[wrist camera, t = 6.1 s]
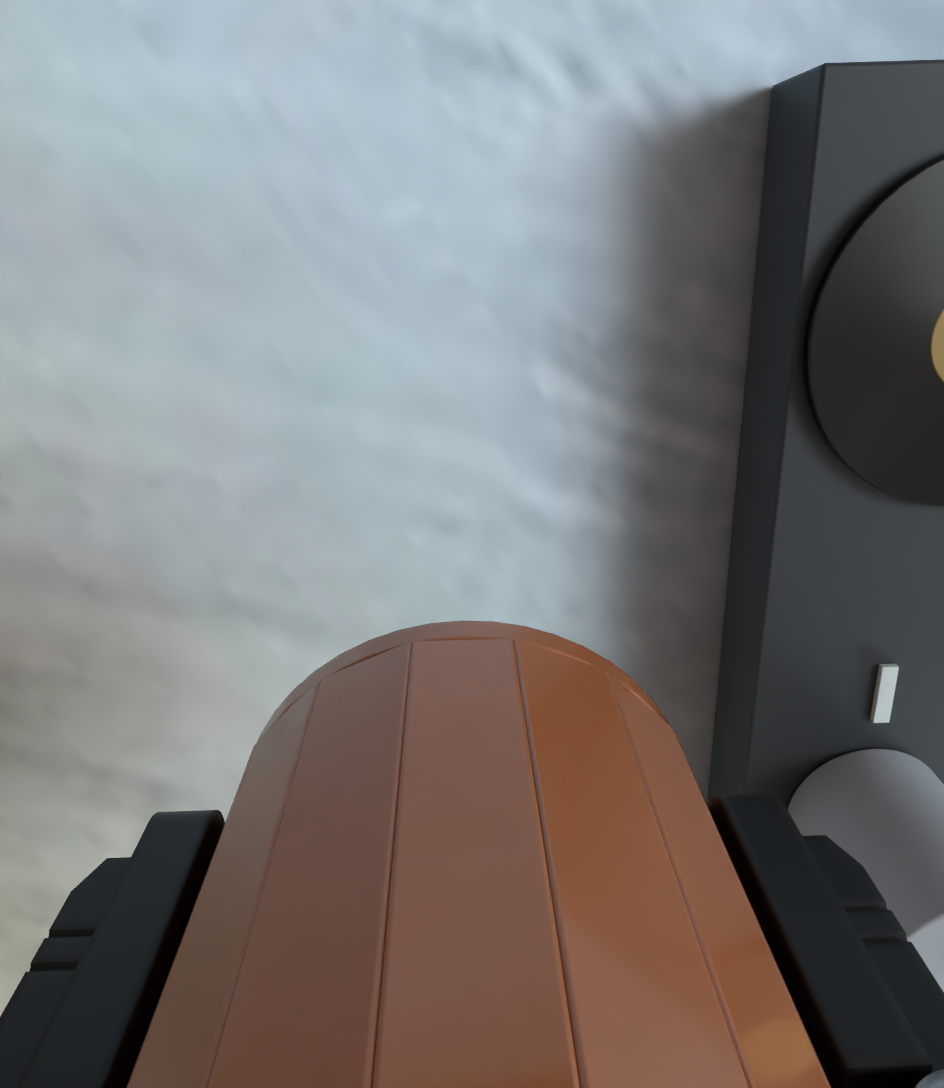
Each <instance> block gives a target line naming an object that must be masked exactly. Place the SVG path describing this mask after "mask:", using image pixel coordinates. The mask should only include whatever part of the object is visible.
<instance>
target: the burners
mask: <svg viewBox="0 0 944 1088" xmlns="http://www.w3.org/2000/svg"><path fill="white" fill-rule="evenodd" d="M803 369H804V381H805V388H806V393H807V397H808V402H809V406H810V409H811V412H812V414H813V417H814V419H815V422H816V425H817V427H818V429H819V431H820V432H821V434H822V436H823V438H824V439H825V441H826V443H827V445H828V446H829V447H830V448H831V450H832V451H833V452H834V453H835V455H836V456H837V457H838V458H839V460H840V461H841V462H842V463H843V464H844V465H846V466H847V467H848V468H849V469H850V470H851V471H852V472H853V473H854V474H856V475H857V476H859V477H860V478H861V479H863V480H864V481H866V482H867V483H869V484H870V485H872V486H873V487H875V488H877V489H879V490H881V491H883V492H885V493H887V494H889V495H891V496H893V497H896V498H899V499H902V500H905V501H909V502H912V503H916V504H922V505H928V506H934V507H944V155H942V156H940V157H938V158H936V159H934V160H932V161H930V162H928V163H927V164H925V165H923V166H921V167H919V168H918V169H916V170H915V171H913V172H912V173H910V174H909V175H907V176H906V177H904V178H903V179H901V180H900V181H899V182H897V183H896V184H895V185H893V186H892V187H891V188H890V189H889V190H888V191H886V192H885V193H884V194H883V195H882V196H881V197H880V198H878V199H877V200H876V201H875V202H874V203H873V204H872V205H871V206H870V207H869V208H868V210H867V211H866V212H865V213H864V214H863V215H862V216H861V217H860V218H859V219H858V220H857V221H856V223H855V224H854V225H853V227H852V228H851V229H850V231H849V232H848V234H847V235H846V236H845V238H844V239H843V240H842V242H841V243H840V244H839V246H838V248H837V250H836V251H835V253H834V255H833V257H832V258H831V260H830V262H829V263H828V265H827V267H826V269H825V271H824V274H823V276H822V278H821V280H820V283H819V285H818V287H817V290H816V292H815V295H814V299H813V302H812V305H811V309H810V312H809V315H808V321H807V326H806V332H805V338H804V353H803Z"/></svg>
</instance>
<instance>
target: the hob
mask: <svg viewBox="0 0 944 1088" xmlns="http://www.w3.org/2000/svg"><path fill="white" fill-rule="evenodd" d="M942 155H944V60H915V61H881V62H848V63H825V64H822V65H820V66H818V67H815V68H813V69H811V70H809V71H806V72H804V73H802V74H799V75H797V76H795V77H792V78H790V79H788V80H785V81H783V82H781V83H778V84H776V85H774V86H773V88H772V94H771V105H770V116H769V127H768V138H767V149H766V161H765V172H764V183H763V194H762V205H761V216H760V227H759V238H758V249H757V261H756V272H755V283H754V294H753V305H752V316H751V327H750V338H749V349H748V361H747V372H746V383H745V394H744V405H743V416H742V427H741V438H740V449H739V461H738V472H737V483H736V494H735V505H734V516H733V527H732V538H731V549H730V560H729V572H728V583H727V594H726V605H725V616H724V627H723V638H722V649H721V660H720V672H719V683H718V694H717V705H716V716H715V727H714V738H713V749H712V760H711V772H710V783H709V794H708V805H707V806H708V807H709V802H710V800H711V798H712V796H713V795H723V794H753V793H775V794H777V795H778V796H779V797H780V798H781V800H782V801H783V803H784V805H785V807H786V808H787V810H788V807H789V804H790V801H791V799H792V797H793V795H794V793H795V791H796V790H797V789H798V787H799V786H800V785H801V783H802V782H803V781H804V780H805V779H806V778H807V777H808V776H809V775H810V774H811V773H812V772H814V771H815V770H816V769H817V768H819V767H820V766H822V765H823V764H825V763H827V762H829V761H830V760H832V759H834V758H837V757H839V756H841V755H844V754H847V753H851V752H854V751H859V750H865V749H888V750H895V751H899V752H902V753H906V754H908V755H910V756H913V757H915V758H917V759H918V760H920V761H922V762H923V763H924V764H925V765H927V766H928V767H929V768H930V769H931V770H932V771H933V773H934V774H935V775H936V776H937V777H938V778H939V780H940V781H941V782H942V783H943V784H944V507H934V506H928V505H922V504H916V503H912V502H909V501H905V500H902V499H899V498H896V497H893V496H891V495H889V494H887V493H885V492H883V491H881V490H879V489H877V488H875V487H873V486H872V485H870V484H869V483H867V482H866V481H864V480H863V479H861V478H860V477H859V476H857V475H856V474H854V473H853V472H852V471H851V470H850V469H849V468H848V467H847V466H846V465H844V464H843V463H842V462H841V461H840V460H839V458H838V457H837V456H836V455H835V453H834V452H833V451H832V450H831V448H830V447H829V446H828V445H827V443H826V441H825V439H824V438H823V436H822V434H821V432H820V431H819V429H818V427H817V425H816V422H815V419H814V417H813V414H812V412H811V409H810V406H809V402H808V397H807V393H806V388H805V381H804V369H803V353H804V338H805V332H806V326H807V321H808V315H809V312H810V309H811V305H812V302H813V299H814V295H815V292H816V290H817V287H818V285H819V283H820V280H821V278H822V276H823V274H824V271H825V269H826V267H827V265H828V263H829V262H830V260H831V258H832V257H833V255H834V253H835V251H836V250H837V248H838V246H839V244H840V243H841V242H842V240H843V239H844V238H845V236H846V235H847V234H848V232H849V231H850V229H851V228H852V227H853V225H854V224H855V223H856V221H857V220H858V219H859V218H860V217H861V216H862V215H863V214H864V213H865V212H866V211H867V210H868V208H869V207H870V206H871V205H872V204H873V203H874V202H875V201H876V200H877V199H878V198H880V197H881V196H882V195H883V194H884V193H885V192H886V191H888V190H889V189H890V188H891V187H892V186H893V185H895V184H896V183H897V182H899V181H900V180H901V179H903V178H904V177H906V176H907V175H909V174H910V173H912V172H913V171H915V170H916V169H918V168H919V167H921V166H923V165H925V164H927V163H928V162H930V161H932V160H934V159H936V158H938V157H940V156H942Z"/></svg>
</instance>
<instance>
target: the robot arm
mask: <svg viewBox="0 0 944 1088" xmlns="http://www.w3.org/2000/svg"><path fill="white" fill-rule="evenodd" d="M708 809H709V811H710V813H711V816H712V818H713V820H714V822H715V825H716V827H717V829H718V831H719V834H720V836H721V838H722V841H723V843H724V845H725V847H726V850H727V852H728V854H729V856H730V859H731V861H732V863H733V866H734V868H735V870H736V872H737V875H738V877H739V879H740V881H741V884H742V886H743V888H744V891H745V893H746V895H747V897H748V900H749V902H750V904H751V906H752V909H753V911H754V913H755V916H756V918H757V920H758V922H759V925H760V927H761V929H762V932H763V934H764V936H765V938H766V941H767V943H768V945H769V947H770V950H771V952H772V954H773V957H774V959H775V961H776V963H777V966H778V968H779V970H780V972H781V975H782V977H783V979H784V982H785V984H786V986H787V988H788V991H789V993H790V995H791V997H792V1000H793V1002H794V1004H795V1007H796V1009H797V1011H798V1013H799V1016H800V1018H801V1020H802V1022H803V1025H804V1027H805V1029H806V1032H807V1034H808V1036H809V1038H810V1041H811V1043H812V1045H813V1047H814V1050H815V1052H816V1054H817V1057H818V1059H819V1061H820V1063H821V1066H822V1068H823V1070H824V1072H825V1075H826V1077H827V1079H828V1082H829V1084H830V1086H831V1088H944V992H943V990H942V989H941V987H940V986H939V984H938V983H937V981H936V979H935V978H934V976H933V975H932V973H931V972H930V970H929V969H928V967H927V965H926V964H925V962H924V961H923V959H922V958H921V956H920V954H919V953H918V951H917V950H916V948H915V947H914V945H913V944H912V942H908V941H907V938H906V933H905V931H904V929H903V928H902V926H901V925H900V923H899V922H898V920H897V918H896V917H895V915H894V914H893V912H892V911H891V910H888V909H887V907H886V901H885V900H884V898H883V897H882V895H881V893H880V892H879V890H878V889H877V887H876V886H875V884H874V883H873V881H872V879H871V878H870V876H869V875H868V873H867V872H866V870H865V868H864V867H863V865H861V864H860V863H859V862H858V861H856V860H855V859H854V858H853V857H852V856H850V855H849V854H848V853H847V852H846V851H844V850H843V849H842V848H841V847H839V846H838V845H837V844H836V843H835V842H833V841H832V840H831V839H830V838H829V837H827V836H826V835H812V836H802V835H801V833H800V831H799V829H798V828H797V826H796V824H795V822H794V821H793V819H792V817H791V815H790V814H789V812H788V810H787V808H786V807H785V805H784V803H783V801H782V800H781V798H780V797H779V796H778V795H777V794H775V793H753V794H723V795H713V796H712V798H711V800H710V802H709V807H708ZM224 825H225V822H224V818H223V816H222V813H221V812H220V811H218V810H206V811H177V812H157V813H155V814H154V815H153V816H152V817H151V819H150V821H149V823H148V825H147V827H146V829H145V831H144V833H143V835H142V837H141V839H140V841H139V843H138V845H137V847H136V849H135V851H134V853H133V855H132V857H129V858H107V859H106V860H105V861H104V862H103V863H101V864H100V865H99V866H98V867H97V868H96V869H95V870H94V871H93V872H92V873H91V874H90V875H89V876H87V877H86V878H85V879H84V880H83V881H82V882H81V883H80V884H79V885H78V886H77V887H76V888H74V889H73V890H72V891H71V893H70V894H69V896H68V898H67V900H66V901H65V903H64V905H63V907H62V909H61V910H60V912H59V914H58V916H57V917H56V919H55V921H54V923H53V925H52V926H51V928H50V930H49V937H48V938H45V939H44V941H43V942H42V944H41V946H40V948H39V949H38V951H37V953H36V955H35V957H34V958H33V960H32V962H31V968H30V971H29V972H25V974H24V976H23V978H22V980H21V981H20V983H19V985H18V987H17V988H16V990H15V992H14V994H13V996H12V997H11V999H10V1001H9V1003H8V1004H7V1006H6V1008H5V1010H4V1012H3V1013H2V1015H1V1017H0V1088H126V1087H127V1084H128V1082H129V1079H130V1076H131V1074H132V1071H133V1068H134V1066H135V1063H136V1060H137V1058H138V1055H139V1052H140V1050H141V1047H142V1044H143V1041H144V1039H145V1036H146V1033H147V1031H148V1028H149V1025H150V1023H151V1020H152V1017H153V1015H154V1012H155V1009H156V1007H157V1004H158V1001H159V999H160V996H161V993H162V991H163V988H164V985H165V983H166V980H167V977H168V975H169V972H170V969H171V967H172V964H173V961H174V959H175V956H176V953H177V950H178V948H179V945H180V942H181V940H182V937H183V934H184V932H185V929H186V926H187V924H188V921H189V918H190V916H191V913H192V910H193V908H194V905H195V902H196V900H197V897H198V894H199V892H200V889H201V886H202V884H203V881H204V878H205V876H206V873H207V870H208V867H209V865H210V862H211V859H212V857H213V854H214V851H215V849H216V846H217V843H218V841H219V838H220V835H221V833H222V830H223V827H224Z"/></svg>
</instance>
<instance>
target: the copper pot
mask: <svg viewBox="0 0 944 1088" xmlns="http://www.w3.org/2000/svg"><path fill="white" fill-rule="evenodd" d="M126 1088H831V1086H830V1084H829V1082H828V1079H827V1077H826V1075H825V1072H824V1070H823V1068H822V1066H821V1063H820V1061H819V1059H818V1057H817V1054H816V1052H815V1050H814V1047H813V1045H812V1043H811V1041H810V1038H809V1036H808V1034H807V1032H806V1029H805V1027H804V1025H803V1022H802V1020H801V1018H800V1016H799V1013H798V1011H797V1009H796V1007H795V1004H794V1002H793V1000H792V997H791V995H790V993H789V991H788V988H787V986H786V984H785V982H784V979H783V977H782V975H781V972H780V970H779V968H778V966H777V963H776V961H775V959H774V957H773V954H772V952H771V950H770V947H769V945H768V943H767V941H766V938H765V936H764V934H763V932H762V929H761V927H760V925H759V922H758V920H757V918H756V916H755V913H754V911H753V909H752V906H751V904H750V902H749V900H748V897H747V895H746V893H745V891H744V888H743V886H742V884H741V881H740V879H739V877H738V875H737V872H736V870H735V868H734V866H733V863H732V861H731V859H730V856H729V854H728V852H727V850H726V847H725V845H724V843H723V841H722V838H721V836H720V834H719V831H718V829H717V827H716V825H715V822H714V820H713V818H712V816H711V813H710V811H709V809H708V806H707V804H706V802H705V800H704V797H703V795H702V793H701V791H700V788H699V786H698V784H697V781H696V779H695V777H694V775H693V772H692V770H691V768H690V766H689V763H688V761H687V759H686V756H685V754H684V752H683V750H682V747H681V745H680V743H679V741H678V738H677V736H676V734H675V732H674V731H673V730H672V729H671V726H670V725H669V723H668V721H667V719H666V718H665V717H664V715H663V714H662V712H661V711H660V710H659V708H658V707H657V705H656V704H655V703H654V701H653V700H652V698H651V697H650V696H649V695H648V694H647V693H646V692H645V691H644V690H643V689H642V688H641V687H640V686H639V685H638V684H637V683H636V682H635V681H634V680H633V679H632V678H631V677H629V676H628V675H627V674H626V673H624V672H623V671H622V670H620V669H619V668H618V667H616V666H615V665H614V664H613V663H611V662H610V661H608V660H607V659H605V658H603V657H601V656H600V655H598V654H596V653H594V652H593V651H591V650H589V649H587V648H586V647H584V646H582V645H579V644H577V643H574V642H572V641H570V640H567V639H565V638H562V637H560V636H557V635H555V634H552V633H548V632H544V631H541V630H537V629H533V628H530V627H526V626H520V625H514V624H507V623H500V622H493V621H452V622H440V623H430V624H425V625H420V626H415V627H411V628H406V629H401V630H397V631H395V632H392V633H389V634H386V635H383V636H380V637H377V638H374V639H371V640H368V641H366V642H364V643H362V644H360V645H358V646H356V647H354V648H352V649H350V650H348V651H346V652H344V653H342V654H340V655H338V656H337V657H335V658H334V659H332V660H331V661H329V662H328V663H326V664H325V665H323V666H322V667H320V668H318V669H317V670H316V671H314V672H313V673H312V674H311V675H310V676H309V677H307V678H306V679H305V680H304V681H303V682H302V683H301V684H299V685H298V686H297V687H296V688H295V689H294V690H293V691H292V692H291V693H290V694H289V695H288V697H287V698H286V699H285V700H284V701H283V702H282V704H281V705H280V706H279V707H278V708H277V709H276V710H275V712H274V714H273V715H272V717H271V718H270V720H269V721H268V723H267V725H266V726H265V728H264V729H263V731H262V732H261V734H260V737H259V739H258V741H257V743H256V744H255V745H254V747H253V750H252V752H251V755H250V758H249V760H248V763H247V766H246V768H245V771H244V774H243V776H242V779H241V782H240V785H239V787H238V790H237V793H236V795H235V798H234V801H233V803H232V806H231V809H230V811H229V814H228V817H227V819H226V822H225V825H224V827H223V830H222V833H221V835H220V838H219V841H218V843H217V846H216V849H215V851H214V854H213V857H212V859H211V862H210V865H209V867H208V870H207V873H206V876H205V878H204V881H203V884H202V886H201V889H200V892H199V894H198V897H197V900H196V902H195V905H194V908H193V910H192V913H191V916H190V918H189V921H188V924H187V926H186V929H185V932H184V934H183V937H182V940H181V942H180V945H179V948H178V950H177V953H176V956H175V959H174V961H173V964H172V967H171V969H170V972H169V975H168V977H167V980H166V983H165V985H164V988H163V991H162V993H161V996H160V999H159V1001H158V1004H157V1007H156V1009H155V1012H154V1015H153V1017H152V1020H151V1023H150V1025H149V1028H148V1031H147V1033H146V1036H145V1039H144V1041H143V1044H142V1047H141V1050H140V1052H139V1055H138V1058H137V1060H136V1063H135V1066H134V1068H133V1071H132V1074H131V1076H130V1079H129V1082H128V1084H127V1087H126Z"/></svg>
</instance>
